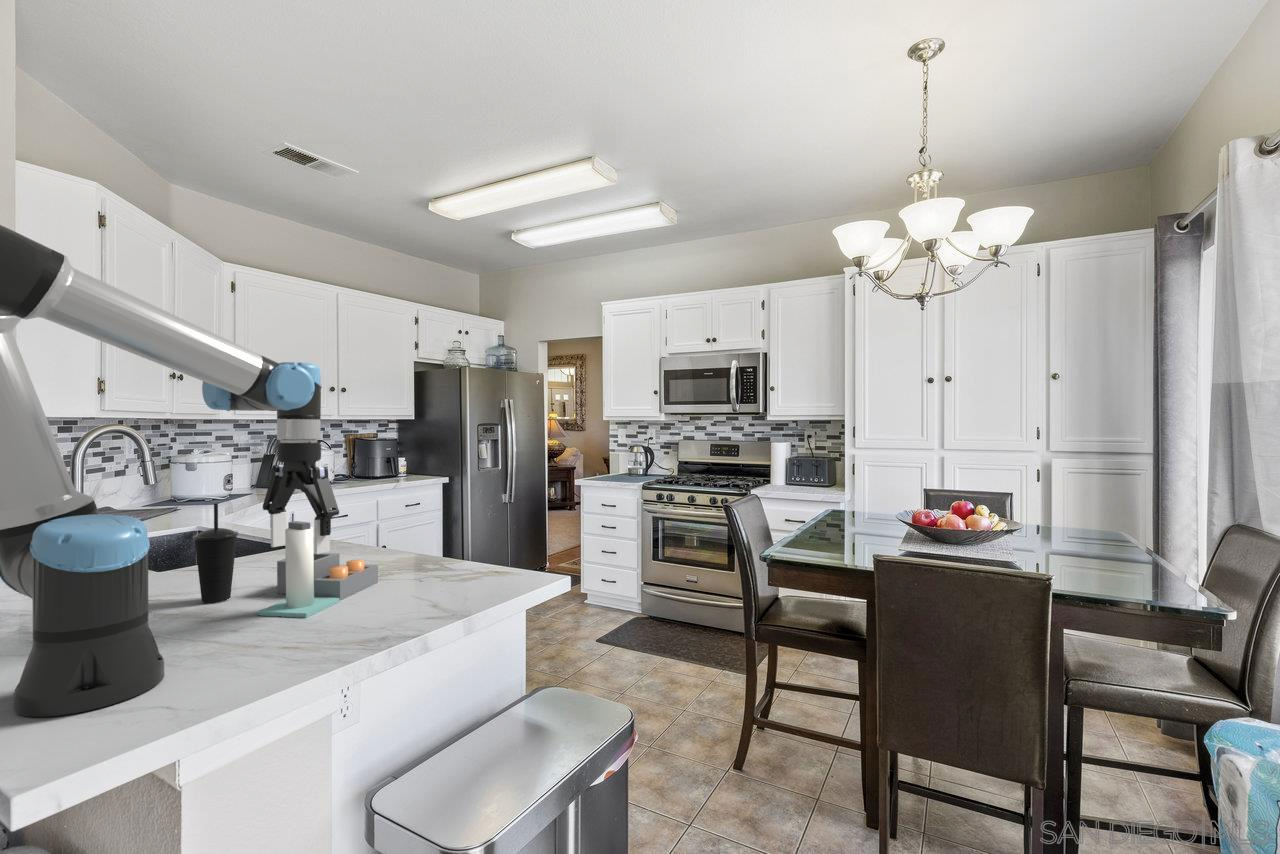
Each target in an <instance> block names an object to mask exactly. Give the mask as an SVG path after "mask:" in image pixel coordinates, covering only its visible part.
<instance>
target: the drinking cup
mask: <svg viewBox="0 0 1280 854" xmlns="http://www.w3.org/2000/svg"><path fill="white" fill-rule="evenodd" d="M238 536H239V532H238V531H235V530H233V529H229V528H225V527H219V503H216V502H215V503H213V528H209V529H206V530H203V531H201V532H199V533H197V534H194V535H193V536H192V539H193V541H194V545H195V552H196V553H195V555H196V562H197V570H198V572H197V573H198V581H199V587H200V588H199V589H200V598H201V603H202V602H204V603H203V604H206V603H211V604H214V603H213V602H219V603H221V602H220V601H223V600H227V599H229V598H230V599H231V595H232V586H233V575H234V566H235V557H236V556H235V555H236V546H237V537H238ZM230 599H229V600H230ZM227 601H228V600H227Z"/></svg>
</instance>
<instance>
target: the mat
mask: <svg viewBox="0 0 1280 854" xmlns="http://www.w3.org/2000/svg"><path fill="white" fill-rule="evenodd" d="M337 603H340V600H339V598H327V597H314V604H312V605H310V606H306V607H301V608H287V607H286V599H285V600H281V601H280V602H277V603H275V604H272V605H270V606H267V607H265V608H262V609H261V610H258V611H257V616H258V615H261V617H279V616H281V617H282V618H283V617H284V618H303V619H305V618H309V617H311V616H313V615H316V614H317V613H320V612H322V611H324V610H325V609H328V608H329V607H331V606H333V605H336V604H337Z"/></svg>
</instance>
